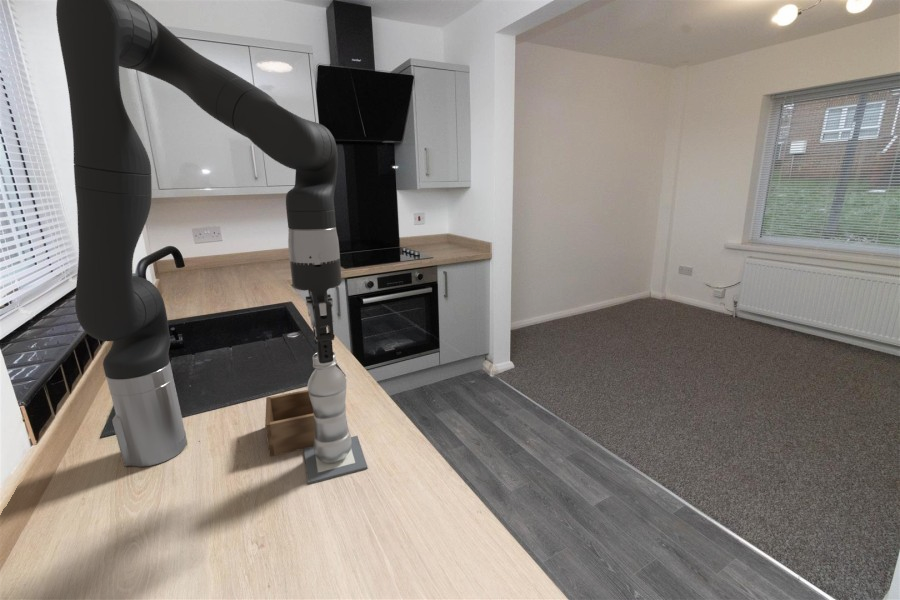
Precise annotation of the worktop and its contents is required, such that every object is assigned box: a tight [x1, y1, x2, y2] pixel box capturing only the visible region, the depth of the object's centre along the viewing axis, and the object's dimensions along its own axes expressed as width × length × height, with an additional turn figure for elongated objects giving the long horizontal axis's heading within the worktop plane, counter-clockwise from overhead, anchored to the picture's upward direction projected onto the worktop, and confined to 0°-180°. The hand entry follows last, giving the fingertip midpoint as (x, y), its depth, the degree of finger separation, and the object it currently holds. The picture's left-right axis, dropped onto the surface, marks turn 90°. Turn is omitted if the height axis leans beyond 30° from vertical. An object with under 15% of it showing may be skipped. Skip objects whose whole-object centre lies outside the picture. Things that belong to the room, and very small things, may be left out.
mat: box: [303, 435, 369, 485], centre depth 75 cm, size 10×10×1 cm
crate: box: [264, 389, 315, 457], centre depth 82 cm, size 11×11×6 cm
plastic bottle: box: [306, 351, 352, 463], centre depth 72 cm, size 6×7×20 cm
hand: (323, 352), depth 69 cm, fingers open, 8 cm apart
